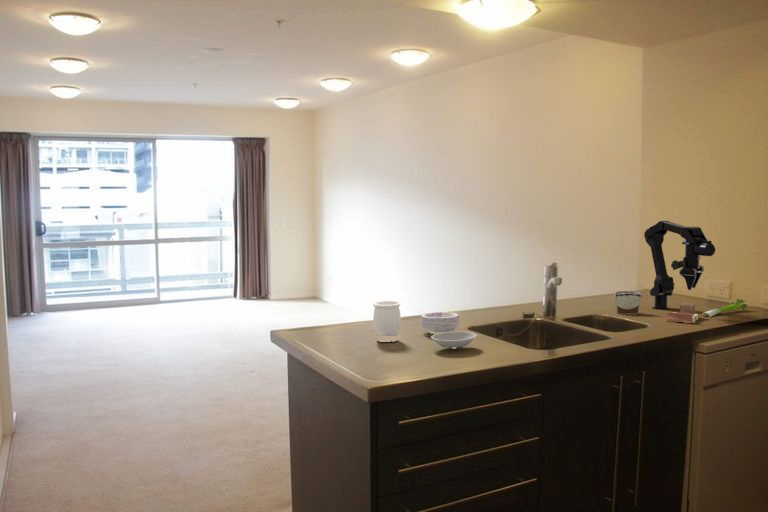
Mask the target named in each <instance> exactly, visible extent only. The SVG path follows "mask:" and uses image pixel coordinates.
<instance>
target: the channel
mask: <svg viewBox="0 0 768 512" xmlns="http://www.w3.org/2000/svg"><path fill="white" fill-rule="evenodd" d="M696 320H697V321H698V320H699V314H698V313H695V314H694V315H693V314H685V313H680V312H677V311H673V312H671V311H667V312H666V322H667V321H672V322H671V323H677V322H683V323H682V324H687V323H693V322H694V323H696V322H697V321H696ZM694 323H693V324H694Z"/></svg>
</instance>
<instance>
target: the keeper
mask: <svg viewBox="0 0 768 512" xmlns="http://www.w3.org/2000/svg"><path fill="white" fill-rule="evenodd" d="M679 313H685V314H693V315H694V314H696V303H685V302H682V303H681V304H680V305H679Z"/></svg>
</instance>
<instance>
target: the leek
mask: <svg viewBox="0 0 768 512" xmlns="http://www.w3.org/2000/svg"><path fill="white" fill-rule="evenodd" d="M735 301H736V302H734V301H731V303H730V304H729V305H725V306H721V307H717V308H714V309H710V310H708V311H704V312H702V313H701V315H702V316H703V315H707V316H708V318H711V317H714V316H716V315H718V314H720V313H724V312H726V311H730V310H731V311H733V310H735V309H736V310H737V309H742V311H743V312H744V311H745V310H746V309H748V304H747V303H745V302H746V299H744V298H743V299H739V298H737V299H735Z"/></svg>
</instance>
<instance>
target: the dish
mask: <svg viewBox="0 0 768 512" xmlns="http://www.w3.org/2000/svg"><path fill="white" fill-rule="evenodd" d="M477 336H478V335H477V334H476V333H473V332H469V331H454V332H444V333H438V334H434V335H431V336H430V338H431V339H432V340H433V341H434V342H435V343H436V344H437V345H438V346H440V347H442V348H445V347H450V348H449V349H451V348H453V347H461V348H464V347H466V346H468V345H469V344H471V343H472V342H473V341H474V339H476V338H477ZM463 346H464V347H463Z"/></svg>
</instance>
